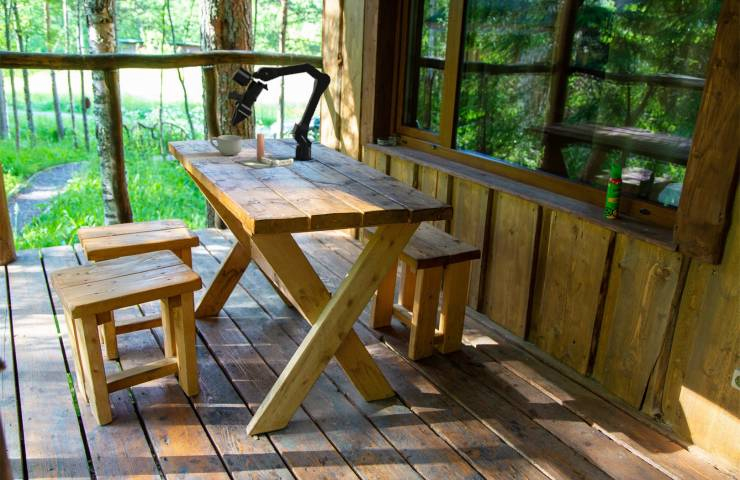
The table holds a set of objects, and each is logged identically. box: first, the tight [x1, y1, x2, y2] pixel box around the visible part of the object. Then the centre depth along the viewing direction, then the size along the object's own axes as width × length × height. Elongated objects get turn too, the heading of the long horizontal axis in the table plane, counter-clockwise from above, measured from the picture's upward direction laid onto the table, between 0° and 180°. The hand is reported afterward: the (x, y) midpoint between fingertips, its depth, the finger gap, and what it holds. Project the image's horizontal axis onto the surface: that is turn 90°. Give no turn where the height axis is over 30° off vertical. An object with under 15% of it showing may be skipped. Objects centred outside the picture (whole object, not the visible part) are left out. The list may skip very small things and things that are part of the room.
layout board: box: [234, 157, 291, 170], centre depth 255 cm, size 19×17×1 cm
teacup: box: [209, 134, 243, 156], centre depth 268 cm, size 14×11×8 cm
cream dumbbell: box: [274, 158, 294, 168], centre depth 253 cm, size 9×2×2 cm, turn 135°
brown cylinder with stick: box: [256, 133, 275, 165], centre depth 251 cm, size 12×3×11 cm, turn 40°
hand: (232, 124), depth 256 cm, fingers open, 9 cm apart
